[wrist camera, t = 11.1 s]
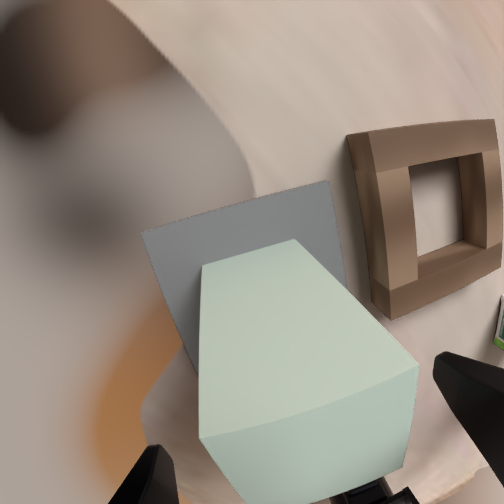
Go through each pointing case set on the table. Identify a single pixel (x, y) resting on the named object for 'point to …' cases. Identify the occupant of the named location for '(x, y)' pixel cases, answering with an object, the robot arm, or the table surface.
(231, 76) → the table surface
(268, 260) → the sage block
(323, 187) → the mat
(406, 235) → the pocket block
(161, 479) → the robot arm
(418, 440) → the table surface
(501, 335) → the syrup box
